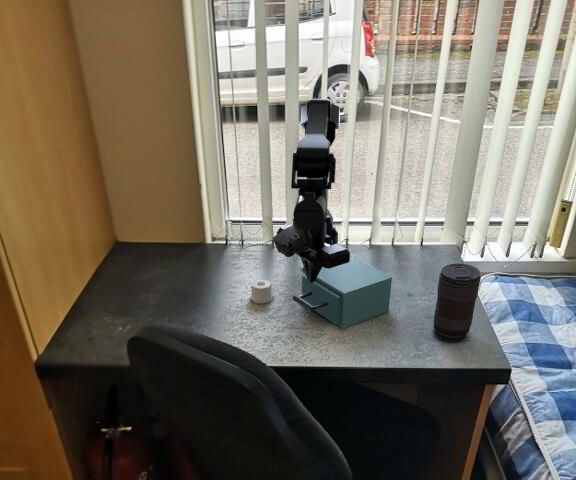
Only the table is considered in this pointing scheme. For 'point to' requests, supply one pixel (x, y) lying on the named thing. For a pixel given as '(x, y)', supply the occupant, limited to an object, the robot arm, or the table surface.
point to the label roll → (261, 291)
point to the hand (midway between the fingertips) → (311, 282)
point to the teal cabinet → (358, 290)
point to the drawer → (320, 300)
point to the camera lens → (456, 301)
